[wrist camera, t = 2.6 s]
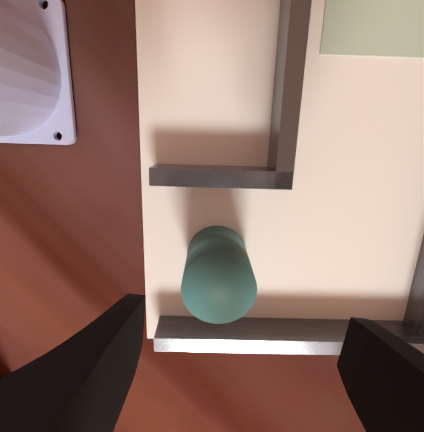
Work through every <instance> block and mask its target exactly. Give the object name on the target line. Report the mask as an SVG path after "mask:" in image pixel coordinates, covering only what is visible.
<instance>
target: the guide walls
mask: <svg viewBox="0 0 424 432" xmlns="http://www.w3.org/2000/svg"><path fill="white" fill-rule="evenodd" d="M311 3H312V0H280V12H279V25H278V37H277V50H276V62H275V75H274V88H273V100H272V113H271V125H270V138H269V151H268V163H267V167H256V166H222V165H187V164H155V165H153V166H151V167H149V186H172V187H208V188H244V189H280V190H292V185H293V176H294V166H295V157H296V147H297V137H298V128H299V118H300V109H301V99H302V89H303V80H304V70H305V61H306V51H307V41H308V32H309V22H310V13H311ZM349 321H350V319H303V318H257V317H241V318H239V319H237V320H235V321H233V322H229V323H224V324H213V323H208V322H205V321H202V320H200V319H198V318H197V317H195V316H163V315H160V317H159V321H158V324H157V328H156V332H155V335H154V351H162V352H213V353H264V354H315V355H340V352H341V349H342V345H343V342H344V338H345V335H346V331H347V328H348V324H349ZM371 321H373V322H375V323H376V324H378V325H380V326H381V327H383V328H385V329H386V330H388V331H390V332H391V333H393V334H394V335H396V336H397V337H399V338H401V339H402V340H404V341H405V342H407V343H408V344H410V345H411V346H413V347H415V348H416V349H418V350H419V351H421V352H422V353H424V234H423V239H422V243H421V247H420V251H419V256H418V260H417V264H416V268H415V272H414V277H413V281H412V285H411V289H410V294H409V298H408V302H407V306H406V310H405V315H404V319H403V321H397V320H371Z"/></svg>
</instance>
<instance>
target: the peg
mask: <svg viewBox="0 0 424 432" xmlns="http://www.w3.org/2000/svg"><path fill="white" fill-rule="evenodd" d="M256 296H257V282H256V279H255V276H254V273H253V270H252V266H251V263H250V260H249V257H248V254H247V251H246V248H245V244H244V242H243V240H242V238H241V237H240V236H239V235H238V234H237V233H236V232H235V231H233V230H232V229H230V228H227V227H224V226H210V227H207V228H204V229H202V230H201V231H199V232H198V233H197V234H196V235H195V236H194V237H193V238H192V240H191V242H190V244H189V247H188V252H187V257H186V262H185V268H184V273H183V278H182V283H181V297H182V300H183V303H184V305H185V306H186V308H187V309H188V311H189V312H190V313H191V314H192V315H194V316H195V317H197V318H198V319H200V320H202V321H205V322H208V323H213V324H224V323H229V322H233V321H235V320H237V319H239V318H241V317H242V316H244V315H245V314H246V313H247V312H248V311H249V310H250V309H251V307H252V306H253V304H254V302H255V299H256Z"/></svg>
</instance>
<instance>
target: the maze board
mask: <svg viewBox="0 0 424 432" xmlns="http://www.w3.org/2000/svg"><path fill="white" fill-rule="evenodd" d="M135 12H136V40H137V68H138V96H139V124H140V152H141V180H142V208H143V236H144V264H145V292H146V320H147V338H154V335H155V332H156V328H157V324H158V321H159V317H160V315H163V316H194V315H192V314H191V313H190V312H189V311H188V309H187V308H186V306H185V305H184V303H183V300H182V297H181V283H182V278H183V273H184V268H185V262H186V257H187V252H188V247H189V244H190V242H191V240H192V238H193V237H194V236H195V235H196V234H197V233H198V232H199V231H201V230H202V229H204V228H207V227H210V226H224V227H227V228H230V229H232V230H233V231H235V232H236V233H237V234H238V235H239V236H240V237H241V238H242V240H243V242H244V244H245V248H246V251H247V254H248V257H249V260H250V263H251V266H252V270H253V273H254V276H255V279H256V282H257V296H256V299H255V302H254V304H253V306H252V307H251V309H250V310H249V311H248V312H247V313H246V314H245V315H244V316H242V317H257V318H303V319H350V317H355V318H364V319H369V320H397V321H403V319H404V315H405V310H406V306H407V302H408V298H409V294H410V289H411V285H412V281H413V277H414V272H415V268H416V264H417V260H418V256H419V251H420V247H421V243H422V239H423V234H424V0H312V3H311V13H310V22H309V32H308V41H307V51H306V61H305V70H304V80H303V89H302V99H301V109H300V118H299V128H298V137H297V147H296V157H295V166H294V176H293V185H292V190H280V189H244V188H208V187H172V186H149V167H151V166H153V165H155V164H187V165H222V166H256V167H267V163H268V151H269V138H270V125H271V113H272V100H273V88H274V75H275V62H276V50H277V37H278V25H279V12H280V0H135Z"/></svg>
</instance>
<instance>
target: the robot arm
mask: <svg viewBox="0 0 424 432" xmlns="http://www.w3.org/2000/svg"><path fill="white" fill-rule="evenodd" d="M45 1H47V2H48V7H47V8H46V9H43V7H42V5H43V3H44V2H45ZM58 132H60V133H61V135H62V139H61V140H59V139H58V138H57V133H58ZM76 138H77V135H76V124H75V113H74V102H73V91H72V80H71V70H70V59H69V48H68V37H67V26H66V15H65V6H64V3H63V1H62V0H0V143H25V144H59V145H70V144H73V143H75V141H76ZM145 298H146V295H137V294H127V295H125V296H124V297H123V298H122V299H120V300H119V301H118V302H117V303H115V304H114V305H113V306H112V307H110V308H109V309H108V310H107V311H106V312H104V313H103V314H102V315H100V316H99V317H98V318H97V319H95V320H94V321H93V322H91V323H90V324H89V325H87V326H86V327H85V328H83V329H82V330H81V331H79V332H78V333H76V334H75V335H73V336H72V337H71V338H69V339H68V340H66V341H65V342H63V343H62V344H60V345H59V346H57V347H56V348H54V349H52V350H51V351H49V352H47V353H46V354H44V355H42V356H41V357H39V358H37V359H35V360H34V361H32V362H30V363H28V364H27V365H25V366H23V367H21V368H19V369H17V370H15V371H13V372H11V373H9V374H7V375H5V376H3V377H1V378H0V432H113V430H114V428H115V425H116V422H117V420H118V417H119V415H120V412H121V409H122V407H123V404H124V402H125V399H126V396H127V394H128V391H129V388H130V386H131V383H132V381H133V378H134V375H135V372H136V368H137V364H138V360H139V356H140V352H141V349H142V341H143V327H144V313H145ZM337 367H338V370H339V373H340V376H341V379H342V382H343V384H344V387H345V389H346V392H347V394H348V397H349V399H350V401H351V403H352V405H353V407H354V409H355V411H356V413H357V415H358V417H359V419H360V421H361V422H362V424H363V426H364V428H365V430H366V432H424V353H422V352H421V351H419V350H418V349H416V348H415V347H413V346H411V345H410V344H408V343H407V342H405V341H404V340H402V339H401V338H399V337H397V336H396V335H394V334H393V333H391V332H390V331H388V330H386V329H385V328H383V327H381V326H380V325H378V324H376V323H375V322H373V321H371V320H369V319H364V318H355V317H350V321H349V324H348V328H347V331H346V335H345V338H344V342H343V345H342V349H341V352H340V356H339V359H338V363H337Z"/></svg>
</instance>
